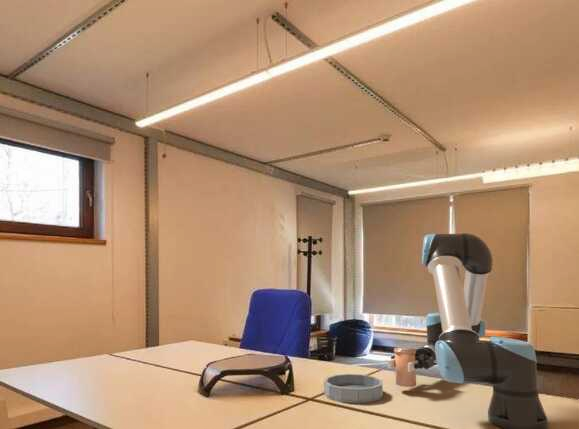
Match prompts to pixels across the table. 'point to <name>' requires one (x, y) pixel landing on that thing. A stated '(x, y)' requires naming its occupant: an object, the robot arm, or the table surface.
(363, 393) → the slate bowl
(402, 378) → the terracotta jar
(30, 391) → the table surface
